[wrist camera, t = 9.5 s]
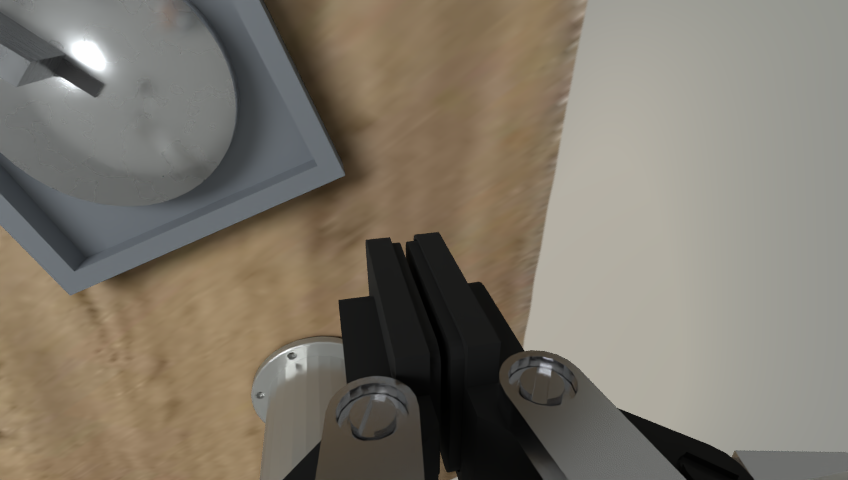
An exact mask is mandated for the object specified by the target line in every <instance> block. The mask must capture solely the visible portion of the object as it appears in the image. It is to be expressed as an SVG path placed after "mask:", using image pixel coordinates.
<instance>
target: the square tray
mask: <svg viewBox="0 0 848 480" xmlns="http://www.w3.org/2000/svg"><path fill="white" fill-rule="evenodd" d="M189 1H190V2H192V3H193V4H194V6H195V7H196V8H197V9H198V10H199V11H200V12H201V13H202V14H203V15H204V16H205V17H206V19H207V20H208V21H209V23H210V24H211V25H212V27H213V28H214V29H215V31H216V32H217V34H218V36H219V37H220V39H221V41H222V42H223V44H224V46H225V48H226V50H227V52H228V55H229V57H230V59H231V61H232V64H233V68H234V71H235V74H236V78H237V83H238V89H239V103H240V108H239V118H238V123H237V128H236V132H235V135H234V137H233V140H232V142H231V144H230V146H229V148H228V150H227V152H226V154H225V155H224V157H223V159H222V160H221V162H220V164H219V165H218V166H217V168H216V169H215V170H214V171H213V172H212V174H211V175H210V176H209V177H208V178H206V179H205V180H204V181H203V182H202V183H201V184H200V185H198V186H196V187H195V188H193V189H192V190H190V191H189V192H187V193H185V194H183V195H181V196H179V197H176V198H174V199H171V200H168V201H165V202H161V203H156V204H151V205H144V206H112V205H105V204H98V203H94V202H90V201H85V200H81V199H78V198H76V197H73V196H70V195H67V194H64V193H62V192H60V191H57V190H55V189H53V188H51V187H49V186H47V185H45V184H43V183H41V182H40V181H38V180H36V179H34V178H33V177H31V176H30V175H28V174H27V173H25V172H24V171H23V170H21V169H20V168H18V167H17V166H16V165H14V164H13V163H12V162H11V161H10V160H9V159H7V158H6V157H5V156H4V155H3V154H2V153H0V225H1V226H2V227H3V228H4V229H5V230H6V231H7V232H8V233H9V234H10V235H11V236H12V237H13V238H14V239H15V240H16V241H17V242H18V243H19V244H20V245H21V246H22V247H23V248H24V249H25V250H26V251H27V252H28V253H29V254H30V255H31V256H32V257H33V258H34V259H35V260H36V261H37V262H38V263H39V264H40V265H41V266H42V268H43V269H44V270H45V271H46V272H47V273H48V274H49V275H50V276H51V277H52V278H53V279H54V280H55V281H56V282H57V283H58V284H59V285H60V286H61V287H62V288H63V289H64V290H65V291H66V292H67V293H68V294H69V295H72V294H75V293H77V292H79V291H82V290H84V289H86V288H88V287H91V286H93V285H95V284H98V283H100V282H102V281H104V280H107V279H109V278H111V277H114V276H116V275H118V274H121V273H123V272H125V271H127V270H130V269H132V268H134V267H137V266H139V265H141V264H143V263H146V262H148V261H150V260H153V259H155V258H157V257H160V256H162V255H164V254H166V253H169V252H171V251H173V250H176V249H178V248H180V247H182V246H185V245H187V244H189V243H192V242H194V241H196V240H198V239H201V238H203V237H205V236H208V235H210V234H212V233H215V232H217V231H219V230H221V229H224V228H226V227H228V226H231V225H233V224H235V223H237V222H240V221H242V220H244V219H247V218H249V217H251V216H253V215H256V214H258V213H260V212H263V211H265V210H267V209H270V208H272V207H274V206H276V205H279V204H281V203H283V202H286V201H288V200H290V199H292V198H295V197H297V196H299V195H302V194H304V193H306V192H308V191H311V190H313V189H315V188H318V187H320V186H322V185H325V184H327V183H329V182H331V181H334V180H336V179H338V178H341V177H343V176H345V172H344V167H343V163H342V161H341V159H340V157H339V155H338V153H337V150H336V148H335V146H334V144H333V142H332V140H331V138H330V136H329V134H328V132H327V130H326V128H325V126H324V124H323V122H322V120H321V118H320V116H319V113H318V111H317V109H316V107H315V105H314V103H313V101H312V99H311V97H310V95H309V93H308V91H307V89H306V87H305V85H304V83H303V81H302V79H301V77H300V74H299V72H298V70H297V68H296V66H295V64H294V62H293V60H292V58H291V56H290V54H289V52H288V50H287V48H286V46H285V44H284V42H283V40H282V38H281V35H280V33H279V31H278V29H277V27H276V25H275V23H274V21H273V19H272V17H271V15H270V13H269V11H268V9H267V7H266V5H265V3H264V1H263V0H189Z"/></svg>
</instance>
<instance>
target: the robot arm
mask: <svg viewBox="0 0 848 480" xmlns="http://www.w3.org/2000/svg"><path fill="white" fill-rule="evenodd" d="M366 257H367V270H368V284H369V296H367V297H359V298H351V299H344V300H339V311H340V321H341V331H342V339H341V338H337V337H325V336H322V337H310V338H306V339H301V340H297V341H295V342H292V343H290V344H287V345H285V346H283V347H281V348H280V349H278V350H276V351H275V352H273V353H272V354H271V355H270V356H269V357H268V358H267V359H265V361H264V362H263V363H262V364H261V366H260V367H259V368H258V371H257V373H256V375H255V377H254V381H253V386H252V394H251V398H252V403H253V407H254V409H255V411H256V413H257V415H258V416H259V417H260V418H261V420H262V421H263V422H264V423H265V433H264V442H263V452H262V461H261V471H260V480H438V475H439V473H440V452H441V456H442V459H443V463H444V466H445V469H446V471H447V472H453V471H456V473H457V477H458V480H848V453H846V452H795V451H792V452H791V451H790V452H789V451H734V453H733V455H732V457H730V456H729V455H728V454H726V453H724V452H723V451H720V450H718V449H716V448H715V447H713V446H711V445H708V444H706V443H703V442H701V441H698V440H696V439H693V438H691V437H688V436H686V435H683V434H681V433H678V432H676V431H673V430H671V429H668V428H666V427H663V426H661V425H658V424H656V423H653V422H651V421H648V420H646V419H643V418H641V417H638V416H636V415H633V414H631V413H628V412H626V411H623V410H621V409H618V408H616V406H615V405H614V404H613V403H612V402H611V401H610V400H609V399H608V398H607V397H606V396H605V395H604V394H603V393H602V392H601V391H600V390H599V389H598V388H597V387H596V386H595V385H594V384H593V383H592V382H591V381H590V380H589V379H588V378H587V377H586V376H585V375H584V373H583V372H581V370H580V369H579V368H577V367H576V366H575V365H574V364H572V363H571V362H570V361H568V360H567V359H565V358H563V357H561V356H559V355H557V354H553V353H549V352H545V351H533V350H530V351H524V349H523V348H522V346H521V345H520V343H519V341H518V340H517V338H516V337H515V335H514V333H513V332H512V330H511V328H510V327H509V325H508V324H507V322H506V320H505V319H504V317H503V316H502V314H501V312H500V311H499V309H498V307H497V306H496V304H495V303H494V301H493V299H492V298H491V296H490V295H489V293H488V291H487V290H486V288H485V286H484V285H483V284H482V283H481V282H474V283H467V281H466V279H465V278H464V276H463V274H462V272H461V270H460V269H459V267H458V265H457V263H456V262H455V260H454V258H453V256H452V255H451V253H450V251H449V249H448V248H447V246H446V244H445V242H444V240H443V239H442V237H441V235H440V234H439V232H436V233H426V234H417V235H414V241H409V242H406V257H405V255H404V252H403V250H402V247H401V244H400V243H392V242H391V239H390V237H389V238H379V239H370V240H366Z"/></svg>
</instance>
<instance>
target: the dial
mask: <svg viewBox="0 0 848 480" xmlns="http://www.w3.org/2000/svg"><path fill="white" fill-rule="evenodd" d="M239 108H240V103H239V89H238V83H237V78H236V74H235V71H234V68H233V64H232V61H231V59H230V57H229V55H228V52H227V50H226V48H225V46H224V44H223V42H222V41H221V39H220V37H219V36H218V34H217V32H216V31H215V29H214V28H213V27H212V25H211V24H210V23H209V21H208V20H207V19H206V17H205V16H204V15H203V14H202V13H201V12H200V11H199V10H198V9H197V8H196V7H195V6H194V4H193V3H192V2H190V1H189V0H0V153H2V154H3V155H4V156H5V157H6V158H7V159H9V160H10V161H11V162H12V163H13V164H14V165H16V166H17V167H18V168H20V169H21V170H23V171H24V172H25V173H27V174H28V175H30V176H31V177H33V178H34V179H36V180H38V181H40V182H41V183H43V184H45V185H47V186H49V187H51V188H53V189H55V190H57V191H60V192H62V193H64V194H67V195H70V196H73V197H76V198H78V199H81V200H85V201H90V202H94V203H98V204H105V205H112V206H144V205H151V204H156V203H161V202H165V201H168V200H171V199H174V198H176V197H179V196H181V195H183V194H185V193H187V192H189V191H190V190H192V189H193V188H195V187H196V186H198V185H200V184H201V183H202V182H203V181H204V180H205V179H206V178H208V177H209V176H210V175H211V174H212V172H213V171H214V170H215V169H216V168H217V166H218V165H219V164H220V162H221V160H222V159H223V157H224V155H225V154H226V152H227V150H228V148H229V146H230V144H231V142H232V140H233V137H234V135H235V132H236V128H237V123H238V118H239Z"/></svg>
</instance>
